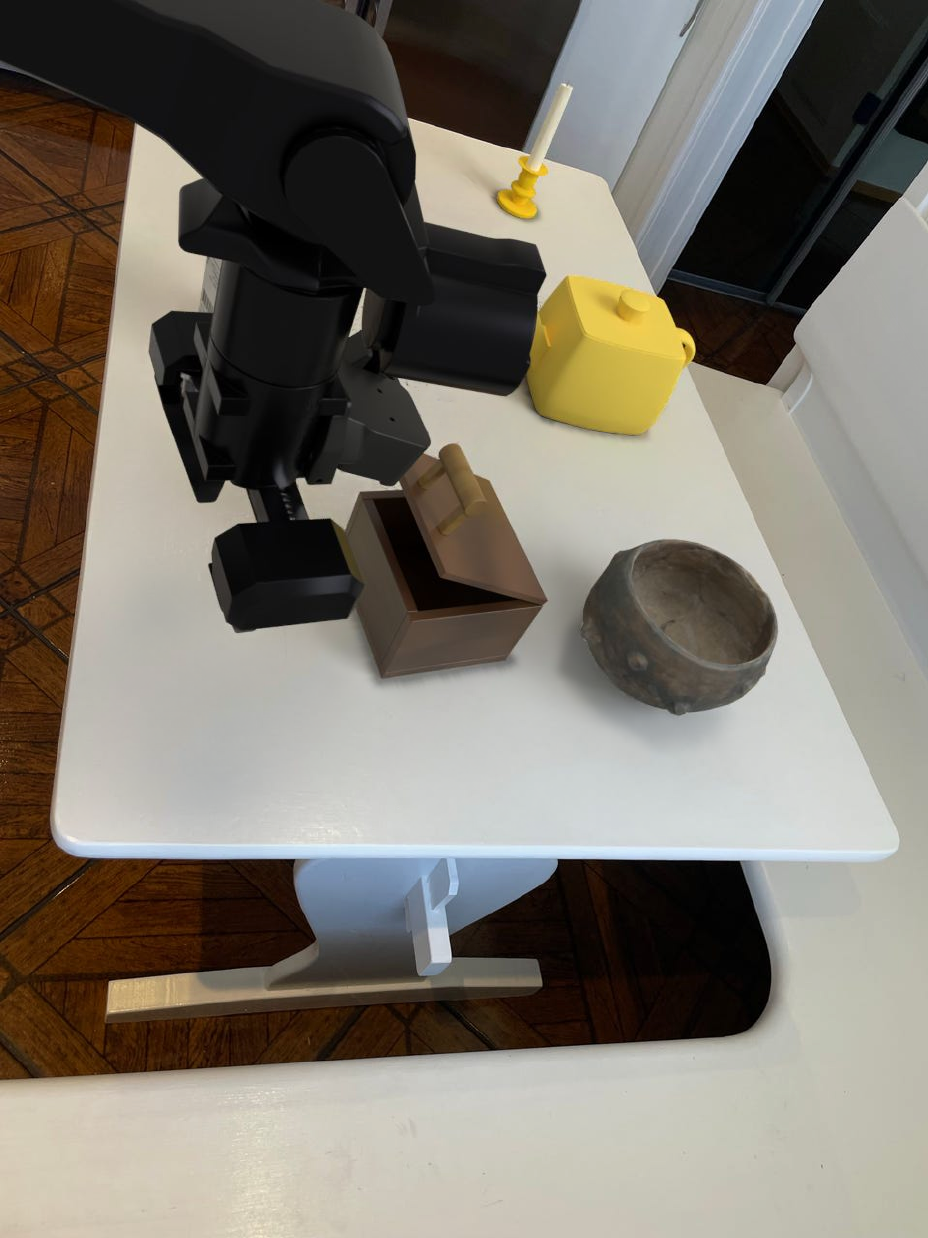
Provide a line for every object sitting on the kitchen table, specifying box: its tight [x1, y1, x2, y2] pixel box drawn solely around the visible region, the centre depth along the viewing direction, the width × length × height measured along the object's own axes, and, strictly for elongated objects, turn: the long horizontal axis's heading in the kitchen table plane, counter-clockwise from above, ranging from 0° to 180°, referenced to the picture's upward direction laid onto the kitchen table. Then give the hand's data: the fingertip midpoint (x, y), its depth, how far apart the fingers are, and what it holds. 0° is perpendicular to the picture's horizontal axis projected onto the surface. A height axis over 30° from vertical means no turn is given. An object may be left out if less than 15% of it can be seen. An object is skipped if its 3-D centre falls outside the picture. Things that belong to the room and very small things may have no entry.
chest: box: [344, 489, 544, 680], centre depth 70 cm, size 11×12×7 cm
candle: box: [496, 80, 574, 219], centre depth 110 cm, size 5×5×16 cm
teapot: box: [525, 274, 696, 436], centre depth 92 cm, size 20×12×12 cm, turn 98°
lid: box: [398, 442, 549, 606], centre depth 64 cm, size 11×12×4 cm
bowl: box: [579, 538, 779, 717], centre depth 73 cm, size 14×15×10 cm
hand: (224, 562), depth 52 cm, fingers open, 9 cm apart
